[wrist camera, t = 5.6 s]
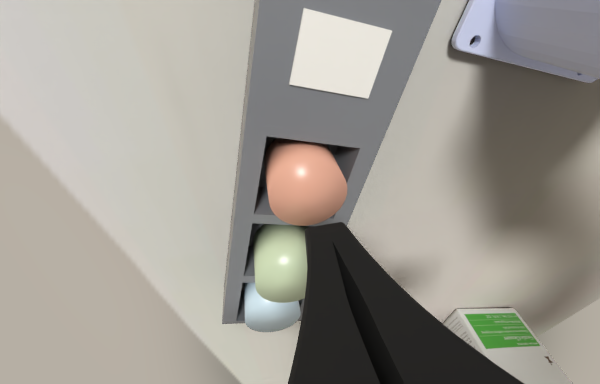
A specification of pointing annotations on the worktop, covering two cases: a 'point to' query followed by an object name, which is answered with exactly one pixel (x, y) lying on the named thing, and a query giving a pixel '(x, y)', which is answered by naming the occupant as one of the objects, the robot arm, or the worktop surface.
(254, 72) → the console
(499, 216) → the worktop surface
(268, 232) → the sage button
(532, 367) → the skincare box
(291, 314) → the blue button
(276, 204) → the terracotta button
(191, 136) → the worktop surface
